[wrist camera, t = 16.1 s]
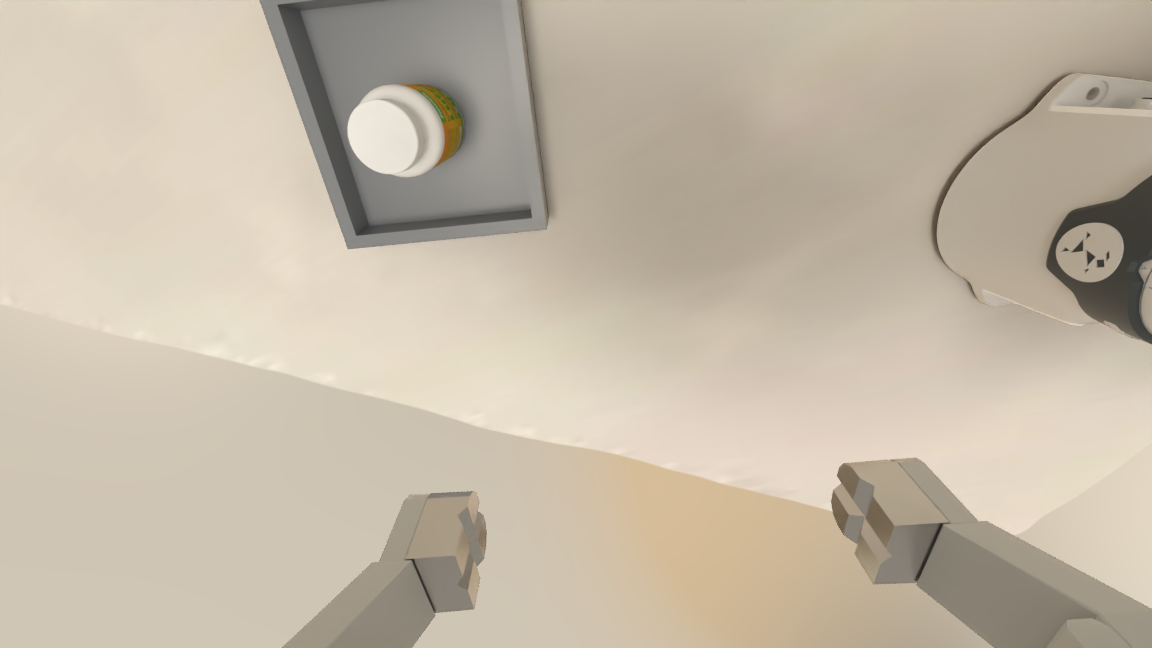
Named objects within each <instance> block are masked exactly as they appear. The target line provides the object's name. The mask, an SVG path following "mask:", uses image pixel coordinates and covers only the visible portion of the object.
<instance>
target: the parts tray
mask: <svg viewBox="0 0 1152 648" xmlns="http://www.w3.org/2000/svg"><path fill="white" fill-rule="evenodd" d="M260 3H261V6H262V9H263V11H264V14H265V17H266V20H267V23H268V25H269V28H270V31H271V34H272V37H273V40H274V42H275V45H276V48H277V51H278V54H279V56H280V59H281V62H282V65H283V68H284V70H285V73H286V76H287V79H288V82H289V85H290V87H291V90H292V93H293V96H294V99H295V101H296V104H297V107H298V110H299V113H300V115H301V118H302V121H303V124H304V127H305V130H306V132H307V135H308V138H309V141H310V144H311V146H312V149H313V152H314V155H315V158H316V161H317V163H318V166H319V169H320V172H321V175H322V177H323V180H324V183H325V186H326V189H327V191H328V194H329V197H330V200H331V203H332V206H333V208H334V211H335V214H336V217H337V220H338V222H339V225H340V228H341V231H342V234H343V236H344V239H345V242H346V245H347V248H348V249H355V248H365V247H375V246H385V245H395V244H406V243H416V242H426V241H436V240H446V239H456V238H466V237H476V236H486V235H497V234H507V233H517V232H527V231H537V230H547V224H548V210H547V202H546V194H545V186H544V178H543V170H542V163H541V155H540V147H539V139H538V131H537V123H536V115H535V108H534V100H533V92H532V84H531V76H530V68H529V60H528V53H527V45H526V37H525V29H524V21H523V13H522V5H521V0H260ZM389 84H424V85H430V86H434V87H437V88H439V89H441V90H443V91H444V92H445V93H447V94H448V95H449V96H450V97H451V98H452V99H453V100H454V101H455V103H456V104H457V106H458V107H459V109H460V111H461V113H462V116H463V120H464V138H463V142H462V144H461V146H460V148H459V150H458V151H457V152H456V153H455V154H454V155H453V156H452V157H451V158H449V159H448V160H446V161H444V162H443V163H441V164H439V165H438V166H436V167H435V168H433V169H431V170H430V171H428V172H426V173H424V174H422V175H419V176H415V177H398V176H394V175H392V174H383V173H379V172H376V171H374V170H372V169H370V168H369V167H367V166H366V165H365V164H364V163H362V162H361V161H360V159H359V158H358V157H357V156H356V154H355V153H354V151H353V149H352V147H351V145H350V142H349V139H348V130H347V127H348V121H349V118H350V115H351V113H352V112H353V110H354V109H355V108H356V107H357V106H358V105H359V104H360V102H361V101H362V99H363V98H364V97H365V96H366V95H367V94H368V93H369V92H370V91H372V90H373V89H375V88H377V87H380V86H383V85H389Z"/></svg>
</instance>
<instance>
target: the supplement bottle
mask: <svg viewBox="0 0 1152 648" xmlns="http://www.w3.org/2000/svg"><path fill="white" fill-rule="evenodd" d="M347 130H348V139H349V142H350V145H351V147H352V149H353V151H354V153H355V154H356V156H357V157H358V158H359V159H360V161H361V162H362V163H364V164H365V165H366V166H367V167H369V168H370V169H372V170H374V171H376V172H379V173H383V174H392V175H394V176H398V177H415V176H419V175H422V174H424V173H426V172H428V171H430V170H431V169H433V168H435V167H436V166H438V165H439V164H441V163H443V162H444V161H446V160H448V159H449V158H451V157H452V156H453V155H454V154H455V153H456V152H457V151H458V150H459V148H460V146H461V144H462V142H463V138H464V120H463V116H462V113H461V111H460V109H459V107H458V106H457V104H456V103H455V101H454V100H453V99H452V98H451V97H450V96H449V95H448V94H447V93H445V92H444V91H443V90H441V89H439V88H437V87H434V86H430V85H424V84H389V85H383V86H380V87H377V88H375V89H373V90H372V91H370V92H369V93H368V94H367V95H366V96H365V97H364V98H363V99H362V101H361V102H360V104H359V105H358V106H357V107H356V108H355V109H354V110H353V112H352V113H351V115H350V118H349V121H348V127H347Z"/></svg>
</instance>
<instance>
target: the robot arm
mask: <svg viewBox="0 0 1152 648" xmlns="http://www.w3.org/2000/svg"><path fill="white" fill-rule="evenodd" d="M1088 92H1089V94H1088V95H1087V93H1088ZM1086 96H1087V97H1086ZM937 243H938V248H939V251H940V254H941V256H942V258H943V260H944V261H945V263H946V264H947V265H948V267H949V268H950V269H951V270H953V271H954V272H955V273H957V274H958V275H960V276H961V277H963V278H965V279H966V280H967V281H968V282H969V283H970V284H971V286H972V288H973V291H974V293H975V295H976V297H977V299H978V300H979V301H980V302H981V303H984V304H986V305H989V306H992V307H998V306H1003V305H1007V304H1011V303H1015V304H1018V305H1020V306H1023V307H1025V308H1028V309H1030V310H1033V311H1035V312H1038V313H1040V314H1043V315H1045V316H1048V317H1051V318H1053V319H1056V320H1058V321H1061V322H1063V323H1066V324H1069V325H1073V326H1083V325H1085V324H1093V323H1099V322H1101V323H1103V324H1105V325H1107V326H1110V328H1111V329H1114V330H1115V331H1117V332H1119V333H1121V334H1124V335H1126V336H1129V337H1131V338H1135V339H1137V340H1139V339H1140V340H1142V341H1145V342H1148V343H1150V344H1152V81H1144V80H1136V79H1128V78H1119V77H1111V76H1103V75H1094V74H1085V73H1074V74H1070V75H1068V76H1066V77H1065V78H1063V79H1062V80H1061V81H1059V82H1058V83H1057V84H1056V85H1055V86H1054V87H1053V88H1052V89H1051V90H1050V91H1049V92H1048V93H1047V94H1046V95H1045V96H1044V97H1043V99H1042V100H1041V101H1040V102H1039V103H1038V104H1037V105H1036V106H1035V108H1034V109H1033V110H1032V111H1031V112H1029V113H1028V114H1027V115H1026V116H1024V117H1023V118H1022V119H1020V120H1019V121H1017V122H1016V123H1014V124H1013V125H1011V126H1010V127H1008V128H1006V129H1005V130H1003V131H1002V132H1001V133H999V134H998V135H996V136H995V137H994V138H993V139H991V140H990V141H989V142H988V143H987V144H985V145H984V146H983V147H982V148H981V149H980V150H979V151H978V152H977V153H976V154H975V155H974V156H973V157H972V158H971V159H970V160H969V162H968V163H967V164H966V165H965V166H964V168H963V169H962V170H961V172H960V173H959V174H958V176H957V177H956V179H955V180H954V182H953V184H952V185H951V187H950V189H949V191H948V193H947V195H946V197H945V199H944V202H943V204H942V207H941V210H940V214H939V218H938V223H937ZM837 477H838V478H839V480H840V481H841V484H840V485H839V486H838V487H836V488H835V489H834V490H833V494H832V500H831V503H832V510H833V515H834V517H835V520H836V522H837V525H838V526H839V528H840V530H841V531H842V533H843V535H845V536H846V537H847V538H849V539H850V540H852V541H853V542H855V543H856V550H855V555H856V557H857V558H858V560H859V562H860V563H861V565H862V566H863V568H864V570H865V572H866V573H867V575H868V576H869V578H870V580H871V581H872V583H873V584H896V583H917V586H918V587H919V588H921V589H922V590H923V591H924V592H926V593H927V594H928V595H929V596H931V597H932V598H933V599H934V600H936V601H937V602H938V603H939V604H941V605H942V606H943V607H944V608H946V609H947V610H948V611H949V612H951V613H952V614H953V615H955V616H956V617H957V618H958V619H959V620H960V621H962V622H963V623H964V624H966V625H967V626H968V627H969V628H970V629H972V630H973V631H974V632H975V633H977V634H978V635H979V636H981V637H982V638H983V639H984V640H986V641H987V642H988V643H989V644H990V645H992V646H993V647H994V648H1152V609H1151V608H1149V607H1147V606H1145V605H1144V604H1142V603H1140V602H1138V601H1136V600H1134V599H1132V598H1130V597H1128V596H1126V595H1124V594H1123V593H1121V592H1119V591H1117V590H1115V589H1113V588H1111V587H1110V586H1108V585H1106V584H1104V583H1102V582H1100V581H1098V580H1096V579H1094V578H1093V577H1091V576H1089V575H1087V574H1085V573H1083V572H1081V571H1079V570H1078V569H1076V568H1074V567H1072V566H1070V565H1068V564H1066V563H1064V562H1063V561H1061V560H1059V559H1056V558H1055V557H1053V556H1051V555H1049V554H1047V553H1046V552H1044V551H1042V550H1040V549H1038V548H1036V547H1034V546H1032V545H1030V544H1029V543H1027V542H1025V541H1023V540H1021V539H1019V538H1017V537H1015V536H1014V535H1012V534H1010V533H1008V532H1006V531H1004V530H1002V529H1000V528H999V527H997V526H995V525H993V524H991V523H989V522H987V521H978V520H977V519H976V518H975V517H974V516H973V515H972V514H971V513H970V511H969V510H968V509H967V508H966V507H965V506H964V505H963V504H962V503H961V502H960V501H959V500H958V499H957V498H956V497H955V495H954V494H953V493H952V492H951V491H950V490H949V489H948V488H947V487H946V486H945V485H944V484H943V483H942V482H941V480H940V479H939V478H938V477H937V476H936V475H935V474H934V473H933V472H932V471H931V470H930V469H929V468H928V467H927V466H926V464H925V463H924V462H922V461H921V460H919V459H917V458H905V459H892V460H877V461H865V462H854V463H843V464H842V465H841V466H840V467H839V470H838V474H837ZM478 506H479V499H478V496H477V493H476V492H474V491H471V492H449V493H431V494H415V495H409V496H408V497H407V498H406V499H405V501H404V502H403V505H402V507H401V510H400V512H399V515H398V517H397V519H396V522H395V524H394V527H393V529H392V532H391V534H390V537H389V539H388V541H387V544H386V546H385V549H384V551H383V553H382V556H381V558H380V561H379V562H374V563H371V564H370V565H369V566H368V567H367V568H366V569H365V570H364V571H363V572H362V573H361V574H360V575H359V576H358V577H357V578H356V579H354V580H353V581H352V582H351V583H350V584H349V585H348V586H347V587H346V588H345V589H344V590H343V591H342V592H341V593H340V594H339V595H337V596H336V597H335V598H334V599H333V600H332V601H331V602H330V603H329V604H328V605H327V606H326V607H325V608H324V609H323V610H322V611H320V612H319V613H318V614H317V615H316V616H315V617H314V618H313V619H312V620H311V621H310V622H309V623H308V624H307V625H306V626H304V627H303V628H302V629H301V630H300V631H299V632H298V633H297V634H296V635H295V636H294V637H293V638H292V639H291V640H290V641H289V642H287V643H286V644H285V645H284V646H283V647H282V648H412V647H413V646H414V644H415V643H416V641H417V640H418V639H419V637H420V636H421V635H422V633H423V632H424V631H425V629H426V628H427V626H428V625H429V624H430V622H431V621H432V619H433V618H434V617H435V613H439V612H448V611H449V612H450V611H461V610H471V609H474V608H475V603H476V597H477V592H478V587H479V582H480V576H479V573H478V570H477V566H478V565H479V564H480V563H481V562H482V560H483V559H484V555H485V550H486V534H487V533H486V523H485V519H484V516H483V515H482V514H481V513H480V512H478Z"/></svg>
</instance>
